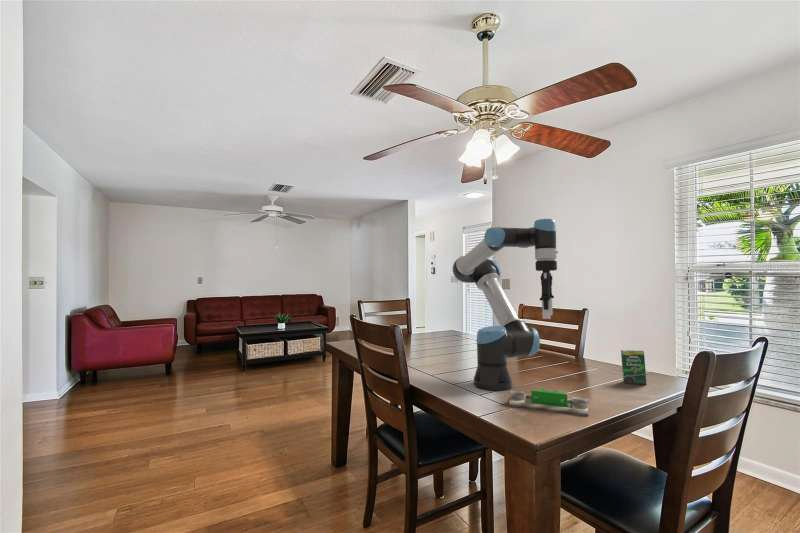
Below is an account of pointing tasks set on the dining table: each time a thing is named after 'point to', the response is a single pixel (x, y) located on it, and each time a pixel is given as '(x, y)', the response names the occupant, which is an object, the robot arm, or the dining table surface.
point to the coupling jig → (574, 405)
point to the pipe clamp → (549, 398)
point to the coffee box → (633, 367)
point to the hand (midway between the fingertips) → (547, 317)
